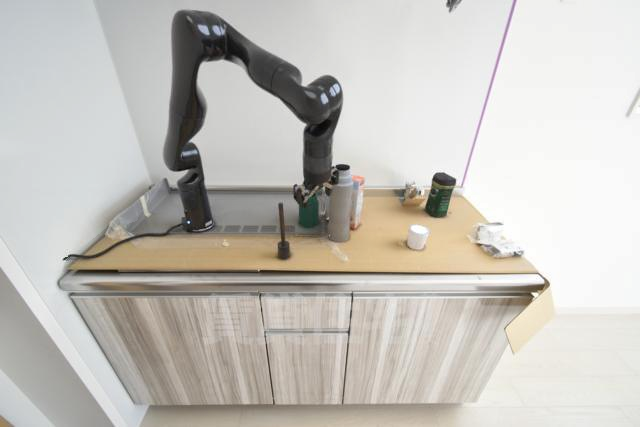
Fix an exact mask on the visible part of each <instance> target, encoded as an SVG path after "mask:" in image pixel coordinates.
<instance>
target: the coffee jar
mask: <svg viewBox="0 0 640 427" xmlns="http://www.w3.org/2000/svg"><path fill="white" fill-rule="evenodd" d="M456 185H457V178H456V177H453V176H452V175H450V174H447V173H446V172H445V171H443V172H441V171H440V172H436V173H434V174H433V176H432V179H431V186H430V190H429V193H428V197H427V200H426V203H425V206H424V210H425V212H427V213H428V214H429V215H431V216H432V217H437V218H443V217H446V216H447V215H448V210H449V206H450V202H451V199H452V194H453V192H454V189H455V188H456Z"/></svg>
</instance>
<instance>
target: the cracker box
mask: <svg viewBox="0 0 640 427" xmlns="http://www.w3.org/2000/svg"><path fill="white" fill-rule="evenodd" d="M351 175H352V181H353V183H354V184H353V195H352V206H351V218H350V230H356V229H357V228H358V226H360V224H361V220H362V209H363V201H364V200H363V199H364V191H365V182H366V177H364V176H360V175H357V174H356V175H355V174H351ZM330 180H331V177H330V179H329V180H328V181H330ZM329 203H330V196H329V197H328V196H327V195H326V194H325V221H326V222H328V221H327V219H326V218H328V217H329Z"/></svg>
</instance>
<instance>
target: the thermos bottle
mask: <svg viewBox="0 0 640 427" xmlns="http://www.w3.org/2000/svg"><path fill="white" fill-rule="evenodd" d="M334 167H335V168H336V169H337V170H338V171H339V183H338V184H337V185H334V187H333V188H332V193H331V196H330V203H329V221H328V230H327V233H329V234H327V235H328V238H329V240H331V241H334V242H336V243H337V242H338V243H342V242H345V241H347V240H348V239H349V238H350V230H351V228H350V218H351V206H352V195H353V184H354V183H353V181H352V175H353V174H351V170H350V169H351V165H349V164H346V163H338V164H335V165H334ZM329 235H330V236H329Z"/></svg>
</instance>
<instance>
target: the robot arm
mask: <svg viewBox="0 0 640 427" xmlns="http://www.w3.org/2000/svg"><path fill="white" fill-rule="evenodd" d="M170 48H171V49H170V51H171V81H170V83H171V84H170V94H169V103H168V115H167V116H168V117H167V118H168V119H167V128H166V133H165V138H164V141H163V146H162V160H163V164H164V165H165V166H166V168H167V170H169V171H171V172H174V173H180V172H185V171H186V173H185V174H183V176H181V177H180V178H178V180H177V181H176V188H177V191H178V194H179V198H180V201H181V204H182V209H183V213H184V216H182V217H181V222H180V223H178V224H176V225H173V226H172V227H170V228H169V229H167V231H165V232H162V233H150V232H148V233H147V232H146V233H141V234H137V235H133V236H130V237H127V238H124V239H122V240H120V241H117V242H115V243H113V244H112V245H110V246H109V247H107V248H106V249H104V250H102V251H100V252H98V253H95V254H91V255H83V254H75V253H71V254H67V255H68V257H65V256H64V257H65V258H64V257H63V258H62V261H66V260H68V259H69V258H78V259H93V258H96V257H100V256H102V255H104V254H106V253H108V252H109V251H110V250H112V249H114V248H115V247H117V246H118V245H121V244H123V243H126V242H128V241H131V240H134V239H138V238H141V237H142V238H143V237H148V236H149V237H163V236H166V235H168V234H169V233H170V232H172V231H173V230H174V229H177V228H179V227H181V226H182V229H183V231H186V230H188V231H189V233H202V232H206V231H209V230H210V229H212V228H214V226H215V220H214V217H213V212H212V208H211V203H210V200H209V195H208V191H207V190H208V189H207V186H206V182H205V181H206V180H205V178H206V176H205V173H204V165H203V160H202V155H201V152H200V149H199V147H198V146H197V145H196V143H195V142H193V141H191V140H193V139H194V137H196V135H197V134H198V133H199V132H200V131H201V130H202V129H203V127H204V125H205V123H206V122H205V121H206V118H207V114H208V102H207V98H206V97H205V94H204V93H203V90H202V89H201V87H200V86H199V83H198V80H199V72H200V68H201V65H202V64H203V63H211V62H212V63H213V62H219V61H225V62H229V63H232V64H234V65H237V66H238V67H240V68H242V69H243V71H244V72H245V75H246V76H247V77H248V78H249V80H250V81H251V82H252V84H254V85H255V86H256V87H258V88H260V89H261V90H263V91H264V92H266V93H268V94H269V95H271V96H273V97H274V98H277V99H278V100H279V101H281V103H282V104H283V105H284V106H285V107H286V108H287V109H288V110H289V112H291V113H292V114H293V115H294V116H295V117H296V119H298V120H299V121H300V122H301V123H303V124H305V126H304V128H303V131H302V155H301V156H302V177H303V181H302V183H300V184H298V183H295V184H294V185H293V189H292V190H293V191H292V192H293V193H292V194H293V199H294V201H295V202H296V203H297V204H298V205H299V204H301V206H302V207H303V208H305V209H306V208H308V202H307V200H308V198H309V197H312V195H313V194H314V192H315V193H317V191H319V190H322V189H323V188H324V193H325V196H326V195H327V196H328V197H329V196H331V193H332V188H333V187H334V185H337V184H338V183H339V171H338V170H337V169H336V168H335V165H333V158H334V153H333V152H334V151H333V148H334V139H335V138H334V136H335V132H336V129H337V126H338V124H339V120H340V117H341V113H342V110H343V106H344V90H343V87H342V84H341V83H340V82H339V80H338V78H336V76H333V75H331V74H323V75H321V76H319V77H317V78H315V79H314V80H313V81H311V82H310V83H308V84H307V85H303V74H302V72H301V70H300V68H298V67H297V66H296V65H295V64H293V63H292V62H289V61H288V60H286V59H283V58H282V57H280V56H278V55H276V54H274V53H272V52H270V51H268V49H267V50H266V49H264V48H263V47H261V46H260V45H258V44H256V43H255V42H254V41H252V40H251V39H249V38H248V37H247V36H245V35H244V34H243V33H241V32H240V31H239V30H237V29H236V28H235V27H234V26H233V25H231V24H230V23H229V22H227V21H226V20H225V19H224V18H222V17H221V16H220V15H218V14H217V13H215V12H212V11H209V10H198V9H197V10H196V9H188V8H186V9H178V10H176V11H175V13H174V14H173V16H172V20H171V25H170ZM330 177H331V180H330V181H328V180H329V179H330ZM308 191H310V193H309V192H308ZM304 194H305V195H306V196H305V197H304Z"/></svg>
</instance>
